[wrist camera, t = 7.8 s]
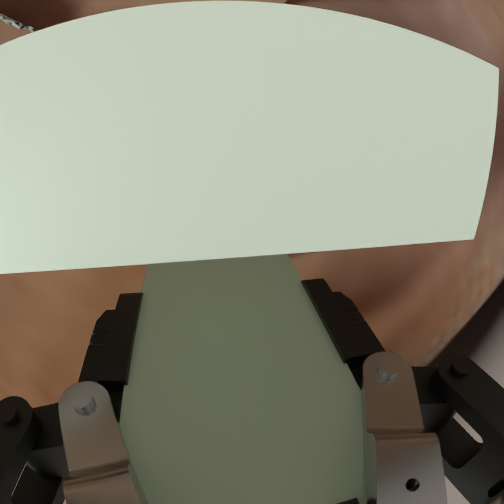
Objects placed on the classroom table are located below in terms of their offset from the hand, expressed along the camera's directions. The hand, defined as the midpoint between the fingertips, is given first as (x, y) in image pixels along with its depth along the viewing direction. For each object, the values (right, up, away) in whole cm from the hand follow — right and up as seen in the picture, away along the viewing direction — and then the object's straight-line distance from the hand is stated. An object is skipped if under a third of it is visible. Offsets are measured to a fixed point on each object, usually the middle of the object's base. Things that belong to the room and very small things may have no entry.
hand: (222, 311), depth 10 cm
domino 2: (0, +1, +3) cm, 3 cm away
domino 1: (-1, +7, +1) cm, 7 cm away
